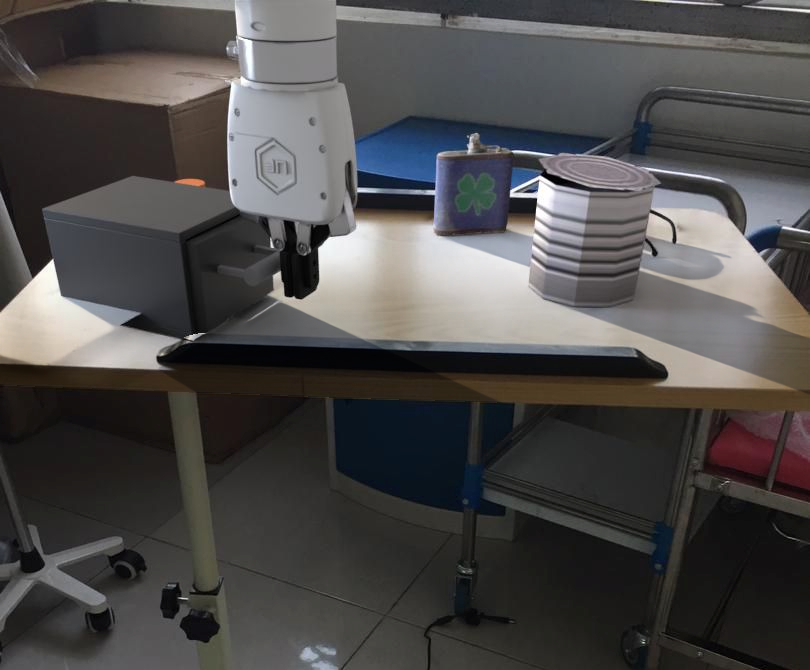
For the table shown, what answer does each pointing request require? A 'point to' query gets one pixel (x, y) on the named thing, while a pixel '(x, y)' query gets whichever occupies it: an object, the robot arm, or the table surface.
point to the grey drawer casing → (135, 248)
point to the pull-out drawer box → (229, 270)
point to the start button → (192, 182)
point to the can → (589, 229)
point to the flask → (472, 189)
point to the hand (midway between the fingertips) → (301, 293)
